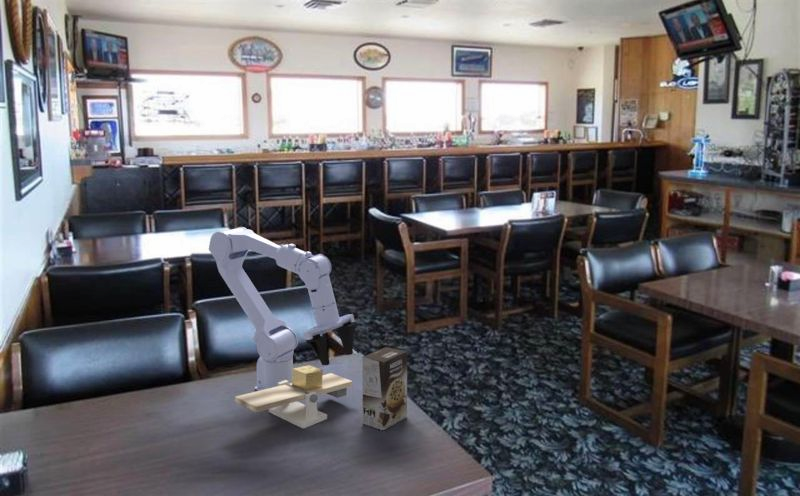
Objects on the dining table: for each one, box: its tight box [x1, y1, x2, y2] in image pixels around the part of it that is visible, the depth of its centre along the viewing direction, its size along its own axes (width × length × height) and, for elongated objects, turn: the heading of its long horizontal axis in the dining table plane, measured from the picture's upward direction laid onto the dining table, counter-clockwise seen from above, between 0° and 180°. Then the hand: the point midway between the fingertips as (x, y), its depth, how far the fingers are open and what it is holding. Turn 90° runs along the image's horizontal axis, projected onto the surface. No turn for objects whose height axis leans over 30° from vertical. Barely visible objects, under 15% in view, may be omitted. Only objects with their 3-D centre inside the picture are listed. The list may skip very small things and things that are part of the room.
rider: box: [292, 364, 324, 391], centre depth 154 cm, size 5×5×4 cm
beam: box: [234, 372, 354, 413], centre depth 152 cm, size 8×28×4 cm, turn 137°
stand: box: [268, 380, 328, 429], centre depth 152 cm, size 13×7×7 cm, turn 47°
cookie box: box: [362, 346, 408, 431], centre depth 149 cm, size 9×6×16 cm
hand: (337, 359), depth 158 cm, fingers open, 7 cm apart
